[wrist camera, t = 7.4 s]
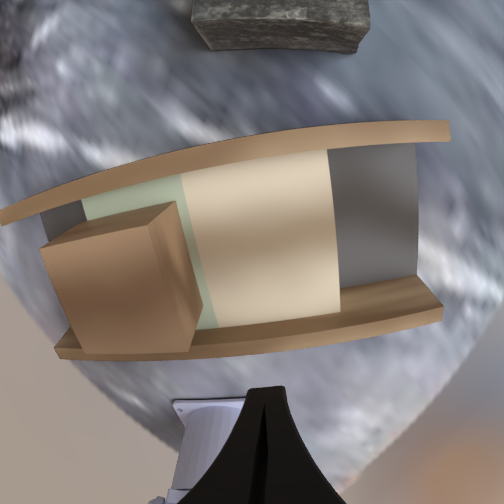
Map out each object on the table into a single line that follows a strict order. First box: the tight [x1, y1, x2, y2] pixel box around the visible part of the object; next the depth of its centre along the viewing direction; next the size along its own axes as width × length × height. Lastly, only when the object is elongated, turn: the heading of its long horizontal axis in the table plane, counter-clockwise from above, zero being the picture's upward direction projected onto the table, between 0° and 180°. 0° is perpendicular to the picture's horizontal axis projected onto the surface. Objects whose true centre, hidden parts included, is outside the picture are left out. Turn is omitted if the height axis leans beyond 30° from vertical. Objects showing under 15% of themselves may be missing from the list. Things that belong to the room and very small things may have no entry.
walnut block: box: [39, 201, 204, 354], centre depth 14 cm, size 6×6×4 cm
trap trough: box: [0, 120, 451, 361], centre depth 16 cm, size 11×25×4 cm, turn 100°
